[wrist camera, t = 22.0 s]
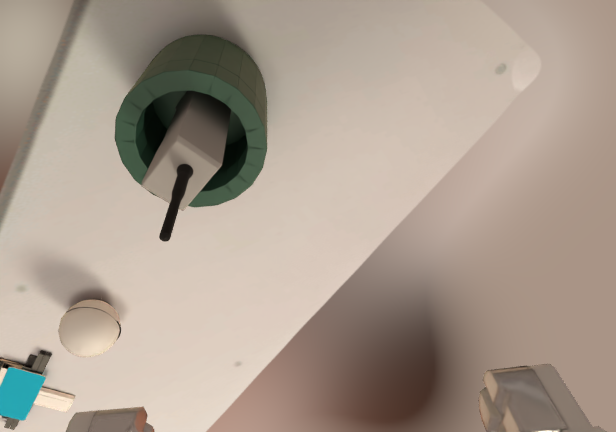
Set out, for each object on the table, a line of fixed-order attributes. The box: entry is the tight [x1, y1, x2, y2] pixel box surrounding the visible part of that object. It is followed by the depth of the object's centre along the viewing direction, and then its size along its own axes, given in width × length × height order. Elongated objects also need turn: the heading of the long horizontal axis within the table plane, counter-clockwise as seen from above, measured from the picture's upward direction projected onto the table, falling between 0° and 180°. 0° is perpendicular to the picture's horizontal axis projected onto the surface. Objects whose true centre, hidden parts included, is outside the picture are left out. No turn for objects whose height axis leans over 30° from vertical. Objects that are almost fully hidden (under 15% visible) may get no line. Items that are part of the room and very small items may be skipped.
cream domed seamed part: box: [58, 300, 121, 357], centre depth 60 cm, size 10×7×7 cm
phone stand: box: [0, 351, 75, 430], centre depth 71 cm, size 20×12×2 cm, turn 148°
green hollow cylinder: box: [115, 35, 267, 207], centre depth 43 cm, size 12×12×12 cm
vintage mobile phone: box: [141, 90, 231, 241], centre depth 37 cm, size 4×5×25 cm
